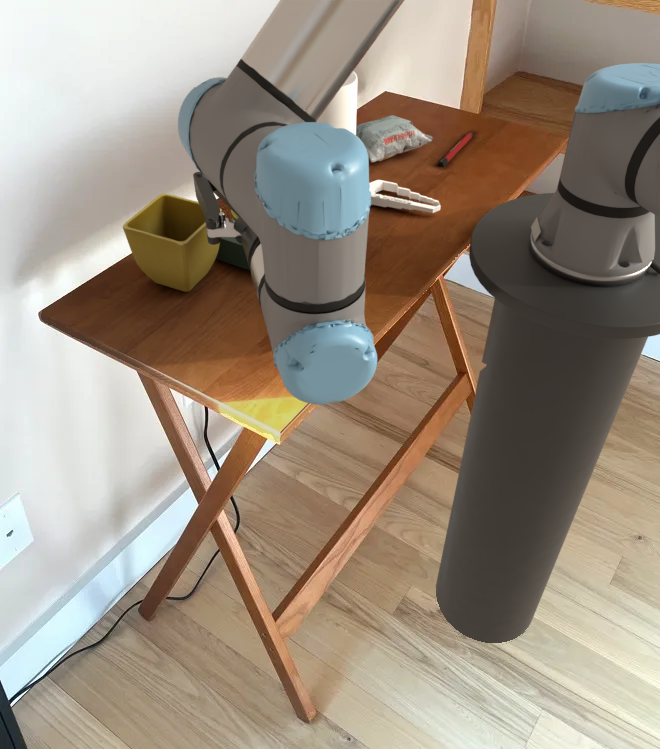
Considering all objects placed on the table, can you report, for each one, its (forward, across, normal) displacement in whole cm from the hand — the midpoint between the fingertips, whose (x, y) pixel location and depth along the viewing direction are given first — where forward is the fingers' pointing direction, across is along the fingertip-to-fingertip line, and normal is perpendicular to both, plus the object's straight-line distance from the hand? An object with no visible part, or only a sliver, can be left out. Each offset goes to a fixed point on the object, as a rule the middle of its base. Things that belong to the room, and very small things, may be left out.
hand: (249, 144), depth 80 cm
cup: (+21, +14, -18) cm, 31 cm away
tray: (+9, +6, -18) cm, 21 cm away
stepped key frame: (+13, +23, -18) cm, 32 cm away
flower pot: (+2, -10, -18) cm, 21 cm away
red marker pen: (+27, +38, -18) cm, 50 cm away
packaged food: (+28, +26, -18) cm, 43 cm away
